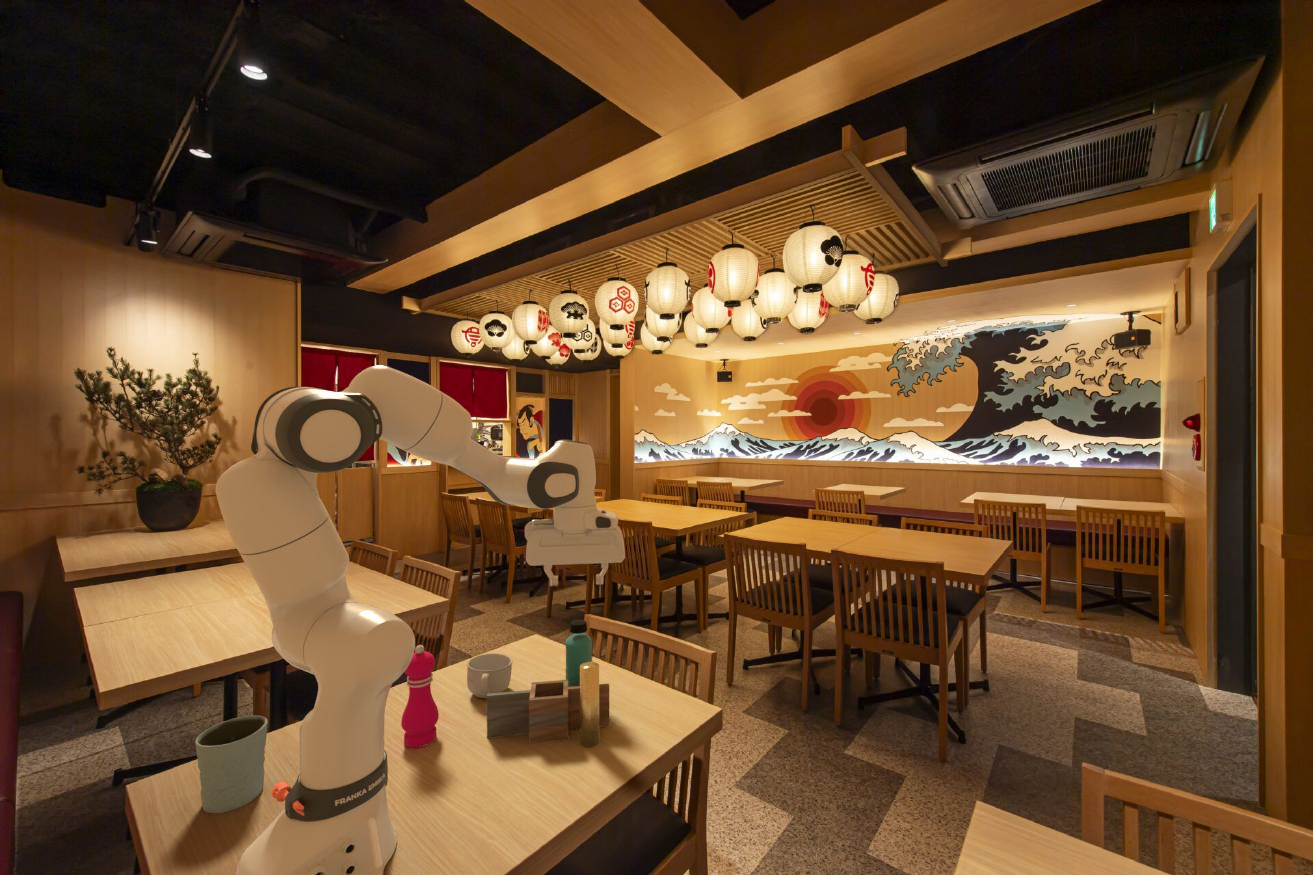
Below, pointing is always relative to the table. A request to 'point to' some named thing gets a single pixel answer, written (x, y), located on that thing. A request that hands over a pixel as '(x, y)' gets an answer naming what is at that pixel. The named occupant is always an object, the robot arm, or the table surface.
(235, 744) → the green oval vase
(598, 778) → the table surface
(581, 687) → the brass pin
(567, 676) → the beverage bottle
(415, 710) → the pepper mill
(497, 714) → the brown winged open box
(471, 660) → the teacup
